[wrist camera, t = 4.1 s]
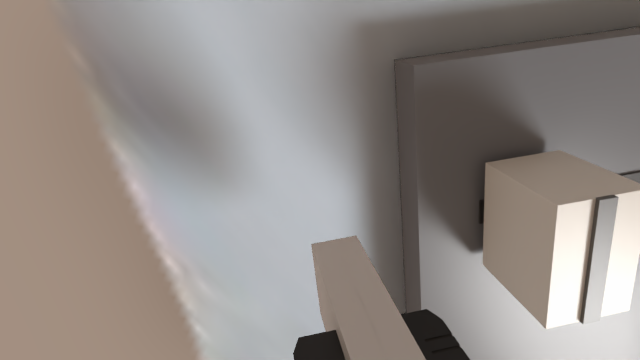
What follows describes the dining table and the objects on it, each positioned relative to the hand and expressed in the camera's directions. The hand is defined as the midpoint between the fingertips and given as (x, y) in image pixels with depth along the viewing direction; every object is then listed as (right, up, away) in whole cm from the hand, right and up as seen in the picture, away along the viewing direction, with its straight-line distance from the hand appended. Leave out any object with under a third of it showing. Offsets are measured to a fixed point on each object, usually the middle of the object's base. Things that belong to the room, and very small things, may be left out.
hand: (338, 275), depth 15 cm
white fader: (+7, +2, +3) cm, 8 cm away
